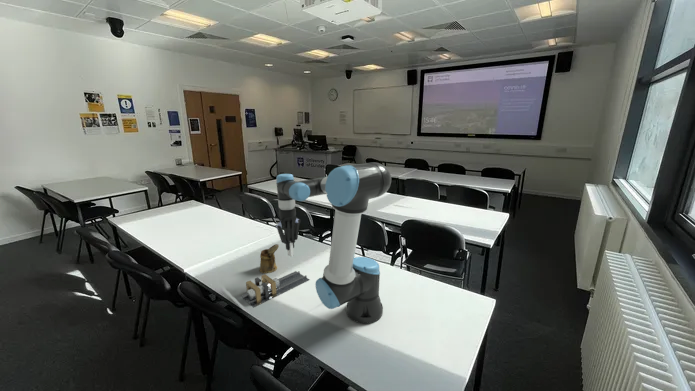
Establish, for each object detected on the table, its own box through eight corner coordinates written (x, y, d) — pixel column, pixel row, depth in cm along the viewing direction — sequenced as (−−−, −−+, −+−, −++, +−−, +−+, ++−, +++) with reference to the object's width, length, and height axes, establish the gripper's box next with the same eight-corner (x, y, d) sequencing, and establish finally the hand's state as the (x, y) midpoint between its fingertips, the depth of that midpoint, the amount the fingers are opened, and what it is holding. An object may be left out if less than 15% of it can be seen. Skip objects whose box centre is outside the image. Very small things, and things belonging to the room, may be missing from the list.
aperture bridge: (269, 297, 125) (268, 285, 123) (266, 299, 124) (265, 286, 122) (258, 289, 131) (257, 277, 130) (256, 290, 130) (254, 278, 129)
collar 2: (276, 294, 128) (275, 281, 126) (272, 296, 126) (271, 283, 125) (266, 286, 134) (265, 274, 132) (262, 287, 132) (261, 275, 131)
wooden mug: (270, 280, 140) (267, 247, 136) (256, 271, 149) (253, 239, 145) (285, 273, 147) (282, 241, 142) (271, 264, 156) (268, 234, 151)
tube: (275, 285, 135) (274, 276, 134) (280, 288, 131) (279, 279, 131) (247, 298, 125) (246, 289, 124) (252, 301, 122) (250, 291, 121)
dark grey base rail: (310, 281, 139) (310, 278, 139) (253, 309, 119) (253, 305, 118) (295, 272, 147) (295, 269, 147) (240, 297, 127) (240, 293, 126)
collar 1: (261, 301, 122) (260, 288, 121) (257, 303, 121) (255, 290, 119) (251, 292, 129) (250, 280, 127) (247, 294, 127) (245, 282, 126)
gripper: (294, 203, 136) (297, 248, 141) (270, 209, 127) (274, 257, 132) (303, 206, 131) (306, 253, 136) (279, 212, 122) (283, 262, 127)
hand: (290, 255), depth 134 cm, fingers closed
